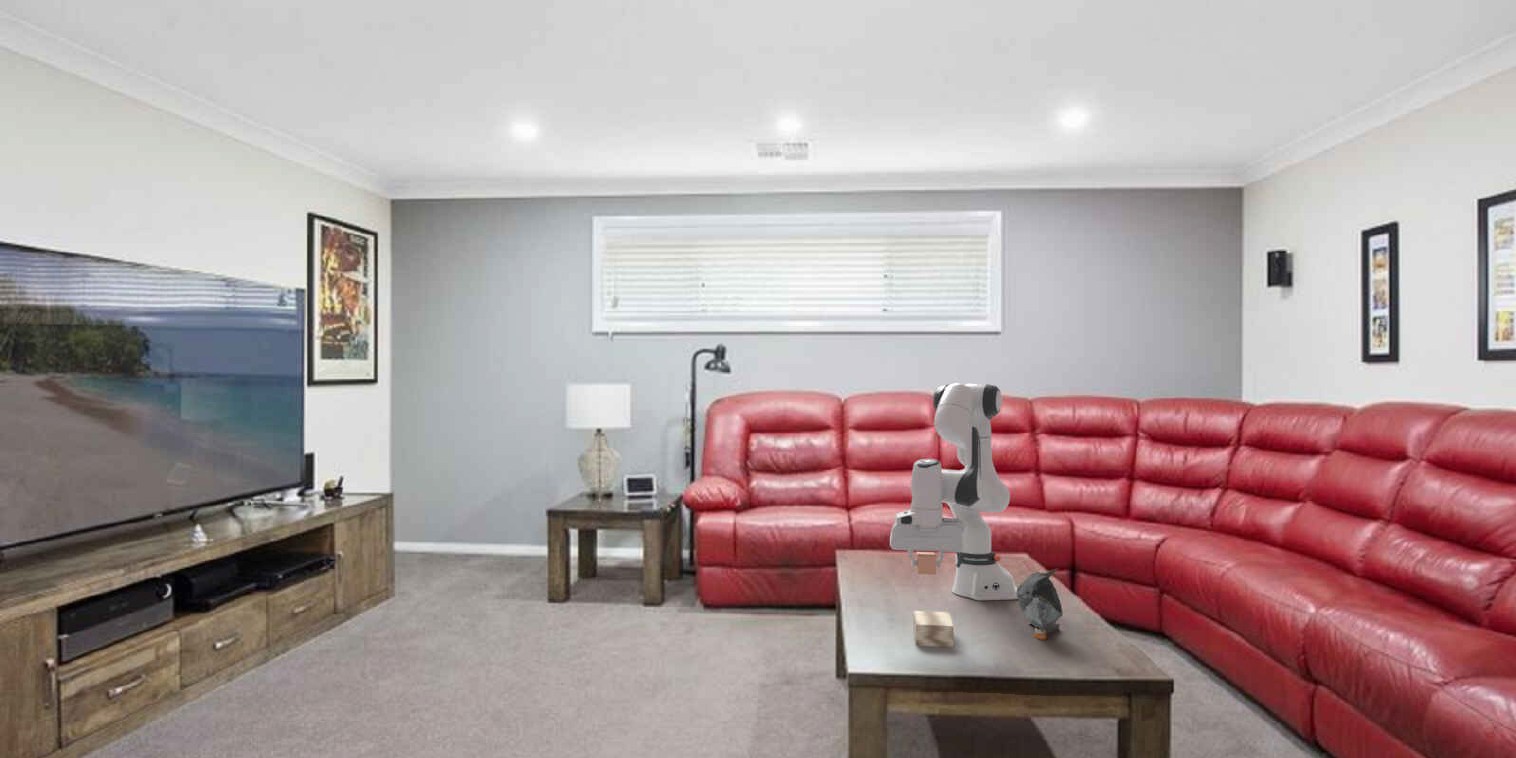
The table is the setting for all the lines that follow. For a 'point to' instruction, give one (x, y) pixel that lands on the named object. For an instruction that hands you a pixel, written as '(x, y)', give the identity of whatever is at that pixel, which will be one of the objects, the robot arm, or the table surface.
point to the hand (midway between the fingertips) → (925, 566)
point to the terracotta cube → (926, 563)
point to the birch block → (933, 629)
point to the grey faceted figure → (1040, 603)
